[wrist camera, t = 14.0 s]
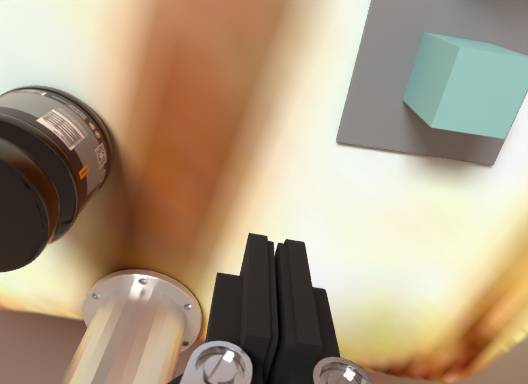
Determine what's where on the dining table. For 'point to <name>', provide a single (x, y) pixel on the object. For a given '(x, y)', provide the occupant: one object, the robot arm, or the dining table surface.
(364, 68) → the grey plate with knob
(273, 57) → the dining table surface
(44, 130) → the supplement container
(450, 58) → the teal rectangular block
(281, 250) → the robot arm
